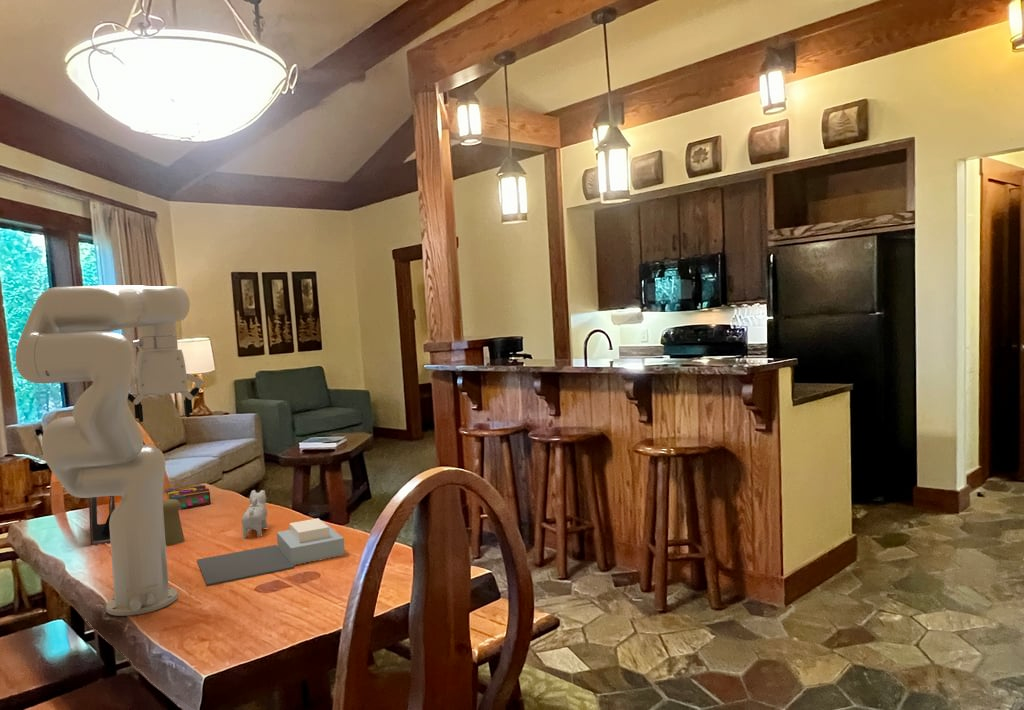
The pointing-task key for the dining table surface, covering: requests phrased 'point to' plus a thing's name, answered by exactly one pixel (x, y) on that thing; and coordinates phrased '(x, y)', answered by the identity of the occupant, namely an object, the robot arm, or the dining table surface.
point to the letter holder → (99, 531)
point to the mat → (243, 564)
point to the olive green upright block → (172, 522)
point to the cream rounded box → (309, 530)
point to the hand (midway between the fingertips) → (164, 419)
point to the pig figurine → (255, 514)
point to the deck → (310, 547)
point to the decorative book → (190, 496)
